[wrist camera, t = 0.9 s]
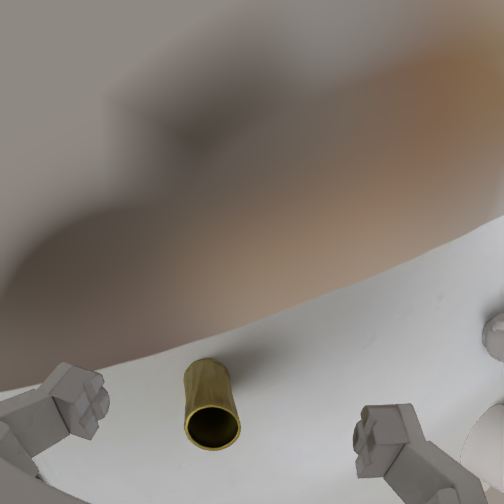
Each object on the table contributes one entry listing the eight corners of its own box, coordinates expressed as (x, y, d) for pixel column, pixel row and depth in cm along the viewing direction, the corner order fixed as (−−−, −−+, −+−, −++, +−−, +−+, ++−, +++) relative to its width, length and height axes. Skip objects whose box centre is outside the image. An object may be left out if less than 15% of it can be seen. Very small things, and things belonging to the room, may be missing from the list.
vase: (189, 353, 40) (187, 393, 26) (235, 364, 41) (253, 407, 27) (179, 394, 39) (173, 447, 25) (223, 404, 40) (236, 459, 26)
